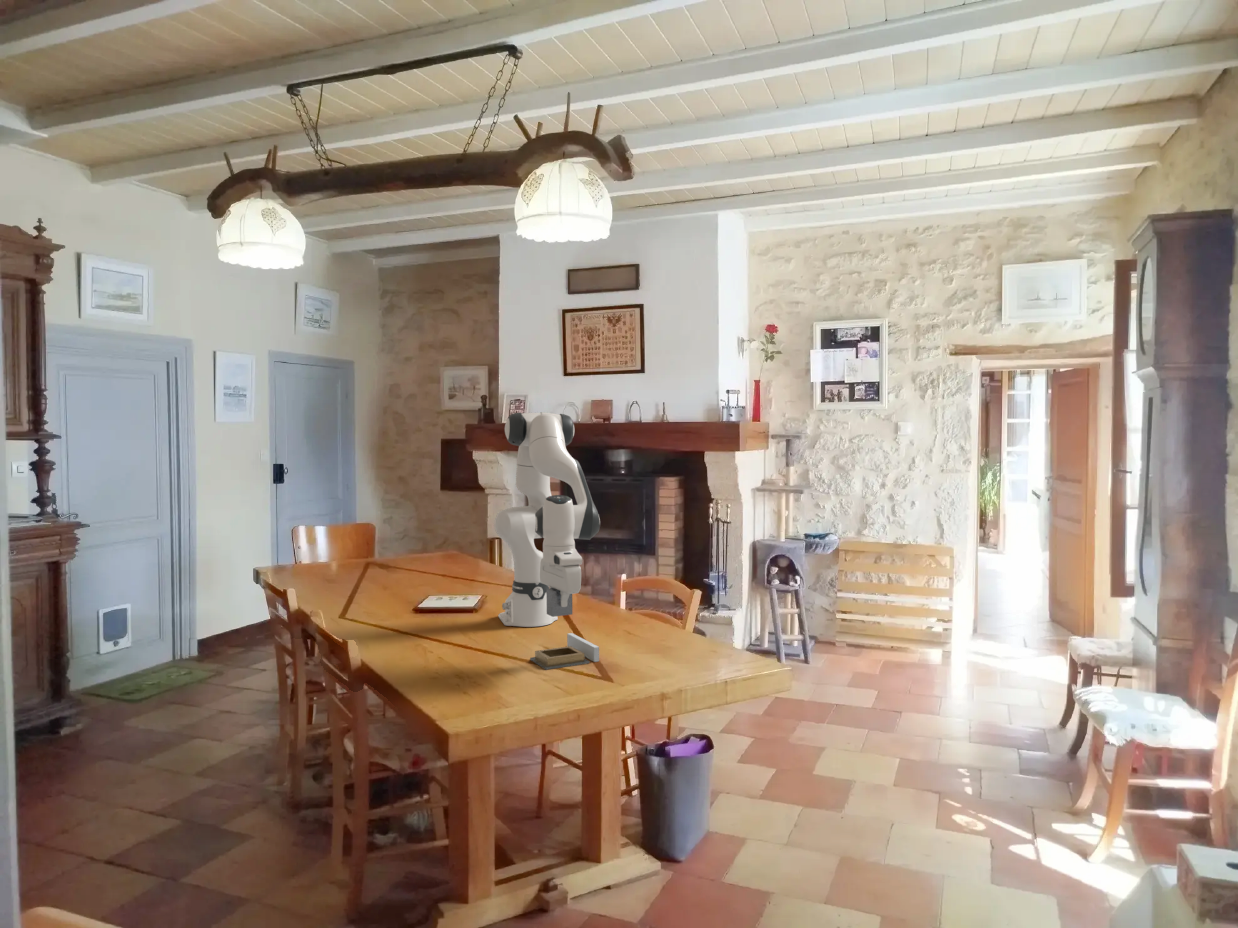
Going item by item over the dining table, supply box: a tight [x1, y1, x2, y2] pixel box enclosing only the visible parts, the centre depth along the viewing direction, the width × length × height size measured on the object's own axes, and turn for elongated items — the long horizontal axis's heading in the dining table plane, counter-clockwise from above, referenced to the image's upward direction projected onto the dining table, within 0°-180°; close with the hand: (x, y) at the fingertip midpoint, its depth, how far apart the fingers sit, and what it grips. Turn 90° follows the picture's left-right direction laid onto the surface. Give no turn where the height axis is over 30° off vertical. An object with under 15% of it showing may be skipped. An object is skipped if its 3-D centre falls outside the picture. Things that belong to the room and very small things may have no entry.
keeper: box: [529, 646, 590, 671], centre depth 231 cm, size 11×13×3 cm
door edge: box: [566, 632, 600, 663], centre depth 239 cm, size 18×2×4 cm, turn 28°
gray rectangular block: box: [546, 588, 573, 617], centre depth 230 cm, size 4×6×7 cm, turn 118°
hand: (559, 604), depth 230 cm, fingers closed on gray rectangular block, 4 cm apart
